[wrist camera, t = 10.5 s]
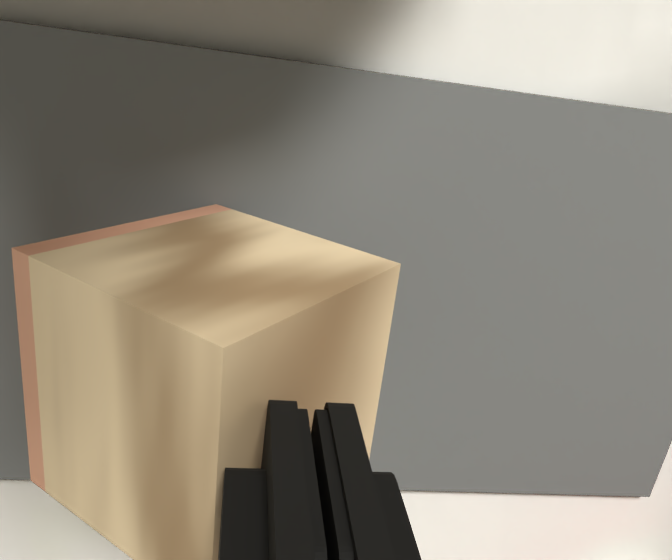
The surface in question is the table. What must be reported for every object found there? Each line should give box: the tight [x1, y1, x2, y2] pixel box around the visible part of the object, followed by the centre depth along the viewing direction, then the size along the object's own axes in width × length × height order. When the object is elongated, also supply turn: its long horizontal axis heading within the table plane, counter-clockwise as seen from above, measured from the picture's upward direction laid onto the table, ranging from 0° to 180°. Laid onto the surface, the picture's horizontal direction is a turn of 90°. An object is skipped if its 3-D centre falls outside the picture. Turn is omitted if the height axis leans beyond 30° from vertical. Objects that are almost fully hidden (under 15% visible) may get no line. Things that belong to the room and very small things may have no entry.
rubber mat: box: [0, 20, 672, 497], centre depth 20 cm, size 28×14×1 cm, turn 82°
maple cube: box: [11, 204, 401, 560], centre depth 15 cm, size 6×6×6 cm
